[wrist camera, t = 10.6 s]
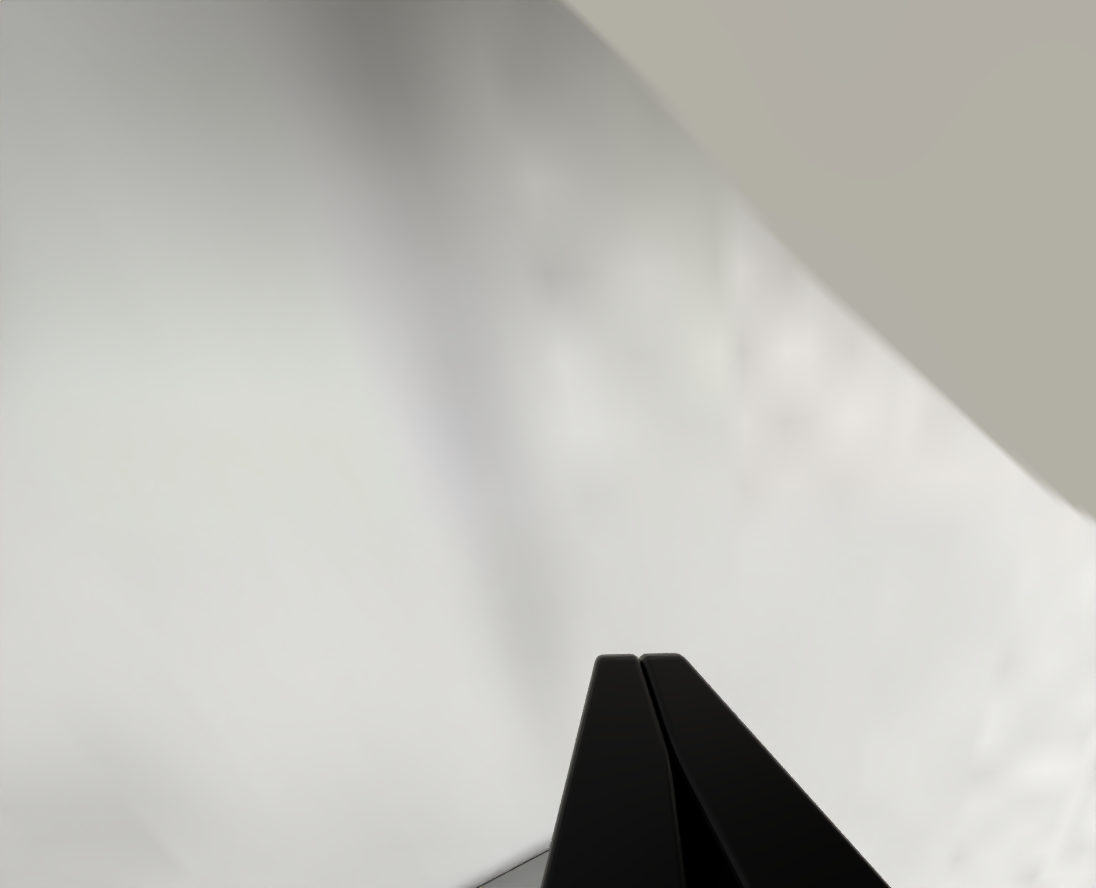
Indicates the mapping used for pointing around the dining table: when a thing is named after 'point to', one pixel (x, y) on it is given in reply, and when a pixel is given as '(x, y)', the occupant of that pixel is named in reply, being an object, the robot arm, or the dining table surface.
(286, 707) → the dining table surface
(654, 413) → the dining table surface
